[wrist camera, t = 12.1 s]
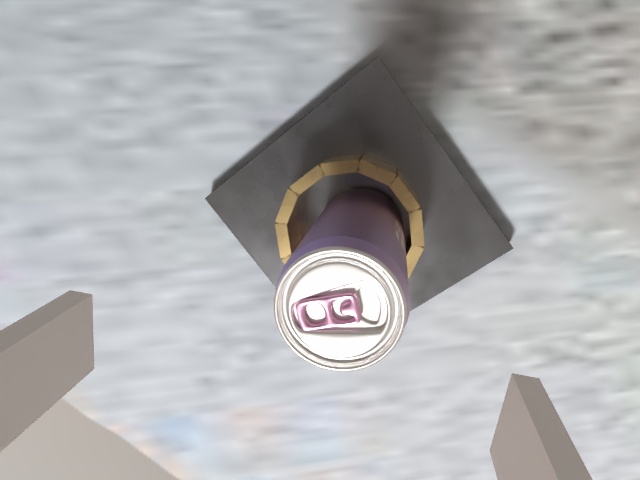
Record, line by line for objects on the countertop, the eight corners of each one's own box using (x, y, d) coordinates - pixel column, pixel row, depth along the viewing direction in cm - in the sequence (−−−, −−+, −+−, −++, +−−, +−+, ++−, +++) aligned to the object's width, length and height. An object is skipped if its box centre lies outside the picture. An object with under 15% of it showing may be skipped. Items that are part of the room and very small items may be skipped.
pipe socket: (210, 195, 36) (184, 207, 32) (378, 58, 32) (375, 50, 27) (334, 351, 38) (325, 383, 34) (509, 243, 34) (526, 264, 29)
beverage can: (313, 195, 34) (254, 256, 19) (395, 179, 32) (397, 232, 18) (330, 272, 35) (286, 383, 21) (409, 260, 34) (422, 367, 19)
